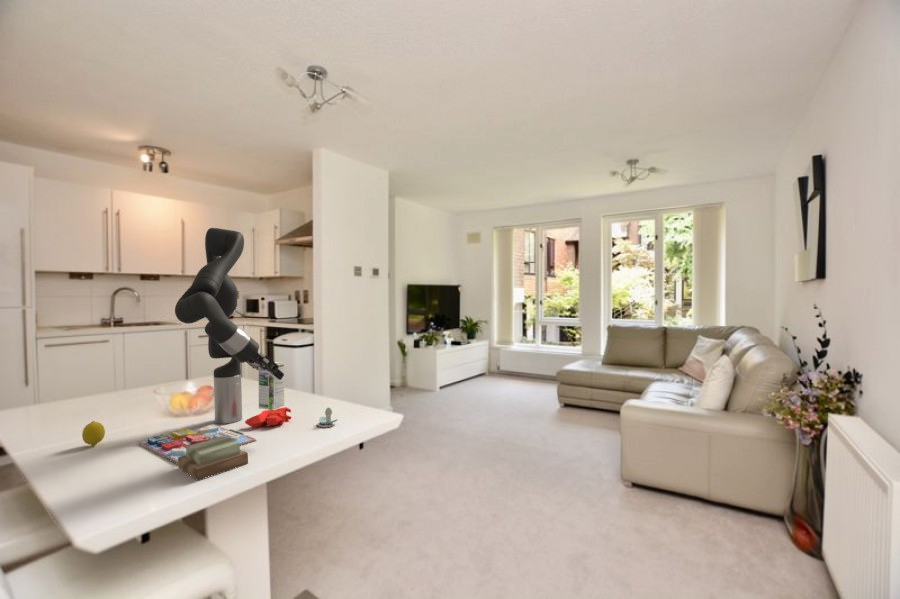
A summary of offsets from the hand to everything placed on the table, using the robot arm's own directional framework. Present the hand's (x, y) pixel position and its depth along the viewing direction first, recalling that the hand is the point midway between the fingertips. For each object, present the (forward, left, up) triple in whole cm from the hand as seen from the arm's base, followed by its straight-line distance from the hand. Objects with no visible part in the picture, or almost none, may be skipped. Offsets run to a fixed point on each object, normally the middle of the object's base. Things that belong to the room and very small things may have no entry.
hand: (275, 375), depth 135 cm
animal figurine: (-18, +7, -22) cm, 29 cm away
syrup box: (0, -2, -10) cm, 10 cm away
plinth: (+4, -21, -21) cm, 30 cm away
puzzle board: (-20, -16, -22) cm, 34 cm away
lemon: (-45, -37, -22) cm, 62 cm away
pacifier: (0, +19, -22) cm, 29 cm away
